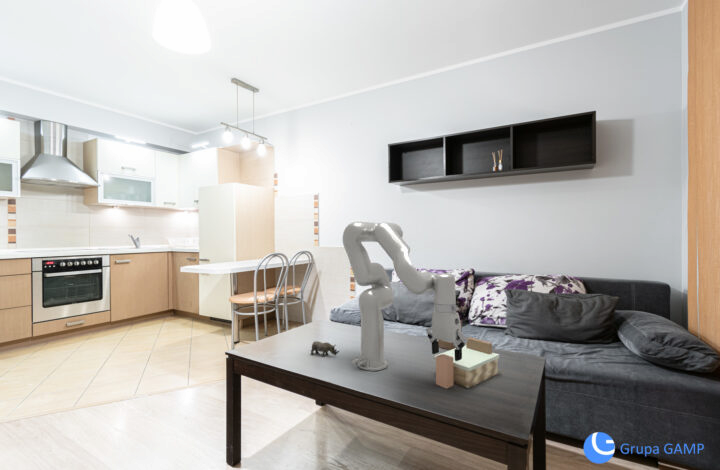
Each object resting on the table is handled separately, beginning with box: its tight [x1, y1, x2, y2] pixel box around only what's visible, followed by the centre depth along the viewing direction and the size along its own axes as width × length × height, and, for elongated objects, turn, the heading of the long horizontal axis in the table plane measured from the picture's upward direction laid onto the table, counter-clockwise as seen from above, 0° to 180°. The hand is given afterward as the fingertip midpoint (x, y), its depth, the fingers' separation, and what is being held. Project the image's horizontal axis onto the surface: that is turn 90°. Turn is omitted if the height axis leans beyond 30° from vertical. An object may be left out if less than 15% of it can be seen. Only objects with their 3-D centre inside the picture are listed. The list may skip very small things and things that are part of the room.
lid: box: [433, 336, 500, 371], centre depth 125 cm, size 21×15×5 cm
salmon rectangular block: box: [435, 353, 454, 389], centre depth 116 cm, size 4×4×10 cm
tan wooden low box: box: [453, 358, 499, 389], centre depth 125 cm, size 20×14×6 cm
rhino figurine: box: [310, 340, 340, 358], centre depth 146 cm, size 4×14×6 cm, turn 70°
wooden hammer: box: [437, 319, 463, 351], centre depth 155 cm, size 4×11×18 cm, turn 51°
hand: (446, 356), depth 116 cm, fingers open, 9 cm apart
